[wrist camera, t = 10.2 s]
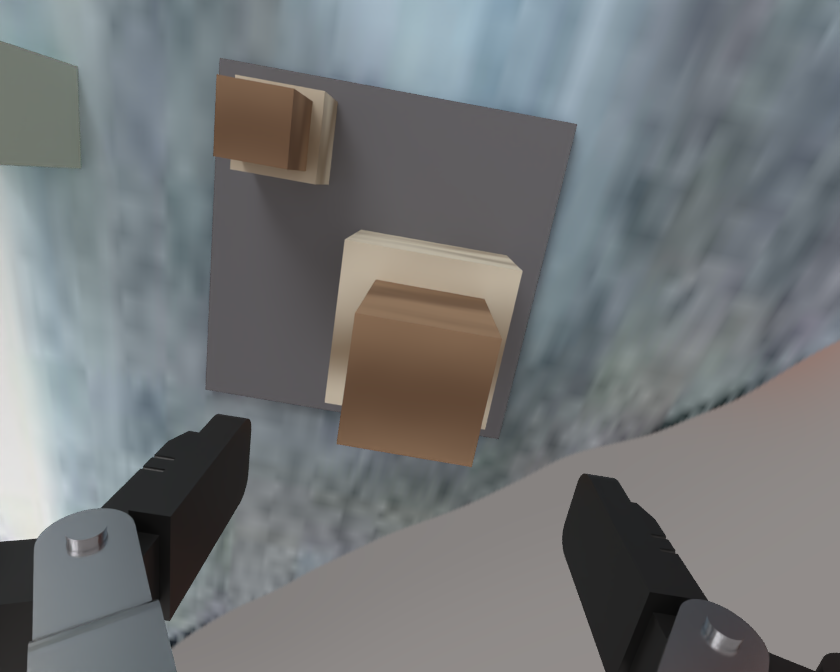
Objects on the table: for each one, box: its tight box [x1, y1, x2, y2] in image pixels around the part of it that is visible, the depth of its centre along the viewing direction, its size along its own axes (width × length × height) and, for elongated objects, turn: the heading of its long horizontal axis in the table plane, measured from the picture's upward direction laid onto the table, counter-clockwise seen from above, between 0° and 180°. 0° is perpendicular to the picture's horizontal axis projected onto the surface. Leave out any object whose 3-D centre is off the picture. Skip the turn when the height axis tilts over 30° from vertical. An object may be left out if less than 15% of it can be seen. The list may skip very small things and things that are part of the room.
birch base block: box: [325, 230, 523, 430], centre depth 25 cm, size 8×8×5 cm
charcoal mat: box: [206, 58, 577, 439], centre depth 27 cm, size 18×18×1 cm
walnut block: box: [337, 280, 502, 467], centre depth 20 cm, size 5×5×6 cm
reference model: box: [213, 74, 338, 185], centre depth 22 cm, size 4×4×6 cm
